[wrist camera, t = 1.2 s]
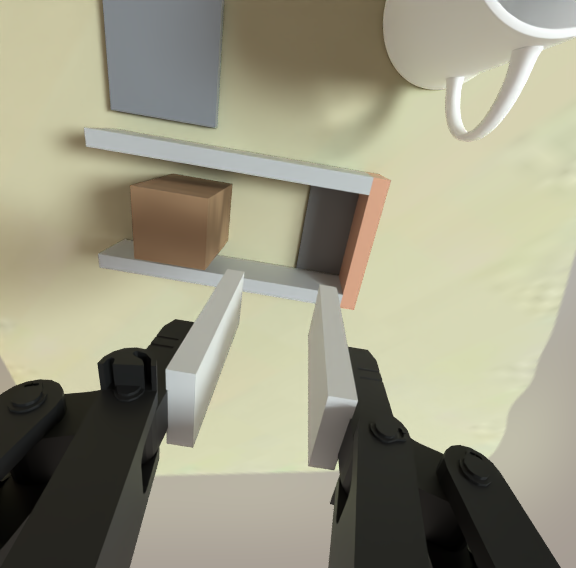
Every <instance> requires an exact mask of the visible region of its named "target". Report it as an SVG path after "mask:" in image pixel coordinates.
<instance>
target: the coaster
mask: <svg viewBox="0 0 576 568" xmlns="http://www.w3.org/2000/svg"><path fill="white" fill-rule="evenodd" d="M103 12H104V25H105V38H106V51H107V65H108V78H109V91H110V104H111V110H115V111H121V112H127V113H133V114H138V115H144V116H150V117H156V118H161V119H167V120H173V121H179V122H184V123H190V124H196V125H202V126H207V127H213V128H217V125H218V106H219V88H220V69H221V50H222V32H223V13H224V0H103Z"/></svg>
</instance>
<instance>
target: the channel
mask: <svg viewBox="0 0 576 568" xmlns="http://www.w3.org/2000/svg"><path fill="white" fill-rule="evenodd" d="M84 131H85V140H86V147H92V148H98V149H104V150H110V151H115V152H121V153H127V154H133V155H139V156H144V157H150V158H156V159H162V160H168V161H174V162H179V163H185V164H191V165H197V166H203V167H208V168H214V169H220V170H226V171H232V172H237V173H243V174H249V175H255V176H261V177H266V178H272V179H278V180H284V181H290V182H295V183H301V184H307V185H311V189H310V195H309V200H308V206H307V211H306V217H305V222H304V228H303V233H302V239H301V244H300V250H299V255H298V260H297V266H296V268H293V267H287V266H281V265H275V264H269V263H263V262H257V261H251V260H245V259H239V258H233V257H227V256H221V255H217V256H216V257H215V258H214V259H213V261H212V262H211V263H210V265H209V266H208V267H207V268H206V270H200V269H194V268H188V267H182V266H176V265H170V264H164V263H158V262H152V261H146V260H140V259H134V244H133V241H132V240H127V239H124V240H122V241H120V242H118V243H117V244H115V245H113V246H111V247H109V248H108V249H106V250H104V251H102V252H100V253H99V254H98V258H99V267H100V268H106V269H112V270H118V271H124V272H130V273H136V274H142V275H148V276H154V277H160V278H166V279H172V280H178V281H184V282H190V283H196V284H202V285H208V286H214V287H217V285H218V283H219V282H220V280H221V278H222V277H223V275H224V274H225V272H226V270H227V269H231V270H237V271H243V272H244V281H243V290H242V291H244V292H250V293H255V294H261V295H267V296H273V297H279V298H285V299H291V300H297V301H303V302H309V303H316V299H317V294H318V290H319V285H326V286H332V287H337V292H338V297H339V302H340V308H345V309H351V310H354V308H355V304H356V301H357V297H358V294H359V290H360V287H361V283H362V280H363V276H364V273H365V269H366V266H367V262H368V259H369V255H370V252H371V248H372V245H373V241H374V238H375V234H376V231H377V227H378V224H379V220H380V217H381V213H382V210H383V206H384V203H385V199H386V196H387V192H388V189H389V185H390V182H391V180H389V179H387V178H385V177H383V176H381V175H380V174H375V173H369V172H363V171H357V170H352V169H346V168H340V167H334V166H328V165H323V164H317V163H311V162H305V161H300V160H294V159H288V158H282V157H277V156H271V155H265V154H259V153H253V152H248V151H242V150H236V149H230V148H225V147H219V146H213V145H207V144H202V143H196V142H190V141H184V140H178V139H173V138H167V137H161V136H155V135H150V134H144V133H138V132H132V131H127V130H121V129H110V128H87V127H84ZM299 268H300V269H299ZM304 269H306V270H304ZM310 270H312V271H310ZM316 271H317V272H316ZM322 272H323V273H322ZM328 273H329V274H328ZM334 274H335V275H334Z"/></svg>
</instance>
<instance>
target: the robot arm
mask: <svg viewBox="0 0 576 568" xmlns="http://www.w3.org/2000/svg"><path fill="white" fill-rule="evenodd" d="M243 281H244V272H243V271H237V270H231V269H227V270H226V272H225V274H224V275H223V277H222V278H221V280H220V282H219V283H218V285H217V287H216V288H215V290H214V291H213V293H212V295H211V296H210V298H209V300H208V301H207V303H206V305H205V306H204V308H203V309H202V311H201V313H200V314H199V316H198V318H197V319H196V321H195V322H189V321H183V320H177V319H175V320H173V321H172V322H170V323H168V324H167V325H165V326H164V327H163V328H162V329H161V331H160V332H159V333H158V334H157V337H155V338H154V340H153V341H152V342H151V345H149V346H148V348H147V349H141V348H124V349H120V350H117V351H114V352H112V353H110V354H108V355H106V356H104V357H103V358H102V359H101V360H100V361H99V362H98V371H99V379H100V386H101V390H98V391H92V392H83V393H71V394H64V392H63V389H62V387H61V385H60V384H59V383H57V382H54V381H52V380H41V379H40V380H34V381H28V382H25V383H22V384H19V385H16V386H14V387H12V388H10V389H9V390H7V391H5V392H4V393H2V394H1V395H0V568H129V567H130V564H131V560H132V556H133V553H134V549H135V545H136V542H137V538H138V535H139V531H140V527H141V523H142V520H143V516H144V513H145V509H146V505H147V502H148V497H149V494H150V491H151V487H152V483H153V480H154V476H155V472H156V469H157V465H158V461H159V446H160V444H161V442H162V440H163V438H164V436H165V433H166V431H167V444H173V445H180V446H186V447H192V448H193V446H194V444H195V441H196V438H197V436H198V433H199V430H200V427H201V425H202V422H203V419H204V417H205V414H206V411H207V409H208V406H209V403H210V401H211V398H212V395H213V392H214V390H215V387H216V384H217V382H218V379H219V376H220V374H221V371H222V368H223V366H224V363H225V360H226V357H227V355H228V352H229V349H230V347H231V344H232V341H233V339H234V336H235V333H236V331H237V328H238V325H239V319H240V309H241V300H242V290H243ZM338 460H339V471H340V476H339V479H338V482H337V484H336V487H335V490H334V493H333V495H332V498H331V502H330V504H332V505H334V513H333V523H332V535H331V545H330V556H329V567H328V568H561V567H560V566H559V564H558V563H557V561H556V560H555V558H554V556H553V555H552V553H551V552H550V550H549V548H548V547H547V545H546V544H545V542H544V541H543V539H542V537H541V536H540V534H539V533H538V531H537V530H536V528H535V526H534V525H533V523H532V522H531V520H530V519H529V517H528V516H527V514H526V512H525V511H524V509H523V508H522V506H521V504H520V503H519V501H518V500H517V498H516V497H515V495H514V493H513V492H512V490H511V489H510V487H509V486H508V484H507V483H506V481H505V479H504V478H503V476H502V475H501V473H500V472H499V470H498V469H497V468H496V467H495V466H494V464H493V463H492V462H491V461H490V460H488V459H487V458H486V457H485V456H484V455H482V454H481V453H479V452H477V451H475V450H473V449H472V448H469V447H465V446H461V445H455V446H451V447H449V448H448V449H447V450H446V451H445V453H444V454H442V453H440V452H438V451H435V450H433V449H431V448H429V447H426V446H424V445H422V444H420V443H418V442H416V441H414V440H413V439H411V438H410V436H409V433H408V430H407V429H406V428H405V427H404V425H403V424H402V423H401V422H400V421H399V420H397V419H396V418H395V417H393V414H392V411H391V407H390V404H389V401H388V398H387V394H386V391H385V388H384V384H383V382H382V378H381V374H380V373H379V368H378V365H377V361H376V359H375V358H374V357H373V356H372V355H371V353H370V352H369V351H368V350H364V349H358V348H352V347H348V345H347V340H346V334H345V329H344V324H343V318H342V313H341V308H340V302H339V297H338V292H337V287H332V286H326V285H319V290H318V294H317V299H316V303H315V308H314V312H313V317H312V321H311V326H310V330H309V335H308V466H311V467H317V468H323V469H330V470H334V469H335V467H336V464H337V461H338Z"/></svg>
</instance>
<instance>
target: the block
mask: <svg viewBox="0 0 576 568" xmlns="http://www.w3.org/2000/svg"><path fill="white" fill-rule="evenodd" d="M130 192H131V209H132V227H133V244H134V259H140V260H146V261H152V262H158V263H164V264H170V265H176V266H182V267H188V268H194V269H200V270H206V268H207V267H208V266H209V265H210V263H211V262H212V261H213V259H214V258H215V257H216V256H217V254H218V253H219V252H220V250H221V249H222V248H223V247H224V245H225V244H226V243H227V241H228V234H229V221H230V208H231V196H232V184H230V183H224V182H218V181H212V180H206V179H201V178H195V177H189V176H183V175H177V174H170V175H167V176H163V177H159V178H156V179H152V180H148V181H144V182H141V183H137V184H133V185H130Z"/></svg>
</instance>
